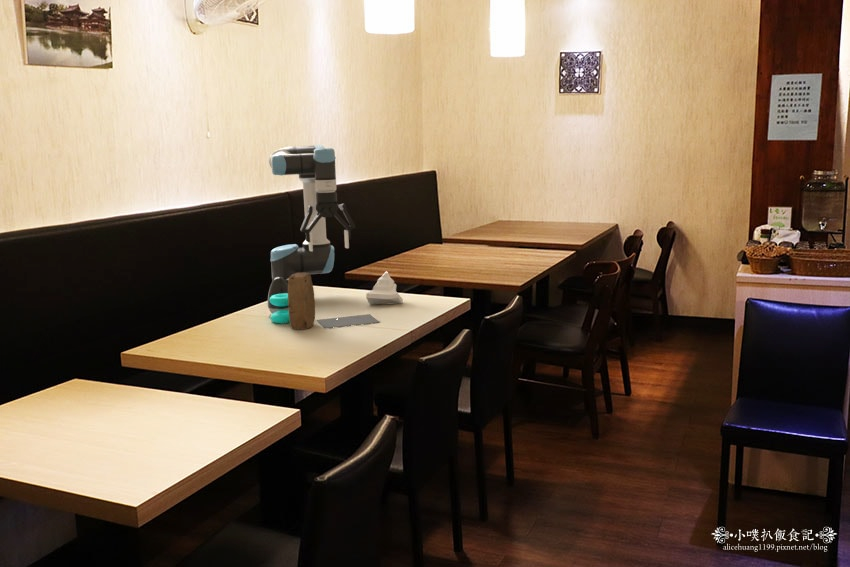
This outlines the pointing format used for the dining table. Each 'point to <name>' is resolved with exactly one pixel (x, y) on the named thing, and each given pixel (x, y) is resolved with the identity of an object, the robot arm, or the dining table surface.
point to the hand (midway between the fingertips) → (329, 249)
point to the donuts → (284, 314)
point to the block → (301, 301)
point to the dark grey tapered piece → (277, 287)
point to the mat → (348, 321)
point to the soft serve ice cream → (384, 291)
